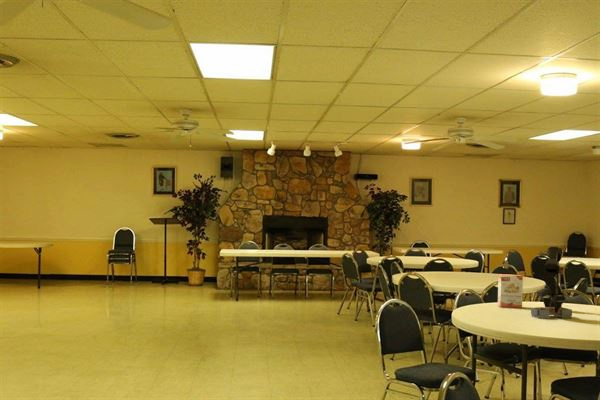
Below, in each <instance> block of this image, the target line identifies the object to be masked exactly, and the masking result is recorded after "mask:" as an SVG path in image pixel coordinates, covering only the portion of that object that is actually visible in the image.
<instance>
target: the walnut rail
mask: <svg viewBox="0 0 600 400" xmlns="http://www.w3.org/2000/svg"><path fill="white" fill-rule="evenodd" d="M536 308H537V309H538V310H549V316H554V315H561V310H566V308H567V307H560V308H559V310H558V312H557V313H555V307H545V306H542V307H541V306H538V307H536Z"/></svg>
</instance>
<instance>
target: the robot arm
mask: <svg viewBox="0 0 600 400" xmlns="http://www.w3.org/2000/svg"><path fill="white" fill-rule="evenodd" d="M547 255H548V260H546V263H545V264H544V268H543V270H544V272H543V275H546V277H545V279H544V283H545V284H546V285H544V287H543V288H541V289H538V290H536V295H537V297H539V299H541V300H542V302H543V305H544V307H555V313H557V312H558V310H559V308H560V307H562V305H563V303H565V302H566V299H567V298H566V296H565V293H564V292H563V290H562V289H563V288H562V287H561V285H560V274H561V266H560V261H561V260H562V257H563V256H564V251H563V248H561V247H559V246H549V247H548V248H547Z"/></svg>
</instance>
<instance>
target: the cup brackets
mask: <svg viewBox="0 0 600 400" xmlns="http://www.w3.org/2000/svg"><path fill="white" fill-rule="evenodd" d="M565 308H566V310H561V315H549V310H538V309H537V307H531V308H530V314H531V317H533V318H536V319H538V320H539V319H540V318H541V319H542V318H543V320H548V319H563V320H567V319H568V320H569V319H572V316H573V309H571V308H567V307H565ZM544 318H545V319H544ZM541 319H540V320H541Z"/></svg>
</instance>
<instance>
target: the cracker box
mask: <svg viewBox="0 0 600 400" xmlns="http://www.w3.org/2000/svg"><path fill="white" fill-rule="evenodd" d="M523 277H524V276H523V275H520V274H507V273H506V274H504V273H503V274H502V273H500V274H498V283H497V286H498V287H497V307H499V308H511V309H512V308H513V309H522V308H523V285H524V284H523V283H524V282H523V281H524V280H523V279H524V278H523Z"/></svg>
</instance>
